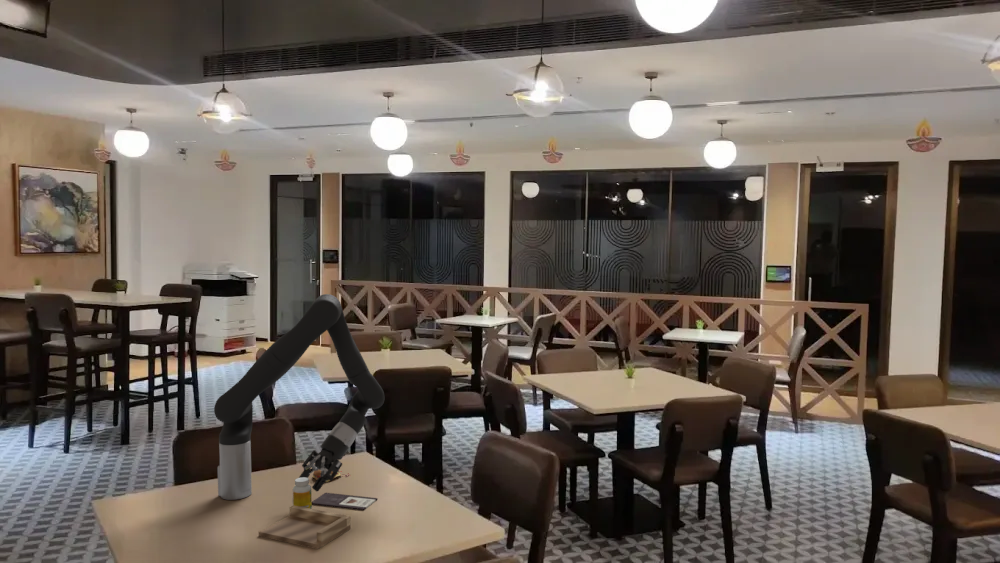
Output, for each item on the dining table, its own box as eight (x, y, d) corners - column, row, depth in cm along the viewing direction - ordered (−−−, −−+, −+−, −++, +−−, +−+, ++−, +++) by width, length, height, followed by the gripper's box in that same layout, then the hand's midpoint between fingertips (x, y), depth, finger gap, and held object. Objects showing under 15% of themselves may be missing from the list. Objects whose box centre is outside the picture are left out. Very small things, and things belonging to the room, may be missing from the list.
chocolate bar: (325, 492, 222) (377, 498, 217) (325, 495, 222) (377, 501, 217) (310, 502, 214) (364, 508, 209) (310, 505, 214) (364, 511, 209)
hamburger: (332, 488, 229) (331, 470, 229) (301, 480, 237) (301, 463, 236) (361, 475, 241) (361, 458, 241) (331, 468, 248) (331, 452, 248)
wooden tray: (258, 536, 191) (258, 523, 191) (293, 517, 204) (293, 505, 203) (317, 549, 183) (317, 535, 182) (350, 528, 195) (350, 516, 195)
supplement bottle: (291, 509, 210) (290, 477, 209) (309, 506, 212) (309, 475, 212) (294, 515, 205) (294, 483, 204) (313, 512, 207) (312, 480, 207)
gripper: (319, 429, 220) (286, 474, 212) (344, 438, 210) (311, 485, 202) (334, 442, 224) (302, 487, 216) (360, 451, 214) (327, 498, 206)
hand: (307, 486), depth 209 cm, fingers open, 8 cm apart
